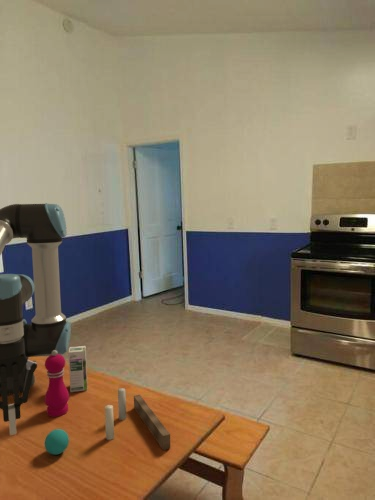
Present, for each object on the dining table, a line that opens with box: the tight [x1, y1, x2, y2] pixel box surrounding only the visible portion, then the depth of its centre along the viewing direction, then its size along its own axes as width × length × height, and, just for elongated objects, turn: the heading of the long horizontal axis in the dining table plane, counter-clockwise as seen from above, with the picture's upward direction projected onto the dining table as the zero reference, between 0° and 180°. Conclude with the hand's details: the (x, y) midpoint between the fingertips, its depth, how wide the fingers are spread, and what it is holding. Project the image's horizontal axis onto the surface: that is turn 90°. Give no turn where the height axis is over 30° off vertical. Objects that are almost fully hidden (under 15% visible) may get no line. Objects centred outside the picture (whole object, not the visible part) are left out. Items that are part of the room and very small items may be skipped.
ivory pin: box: [104, 404, 115, 441], centre depth 107 cm, size 2×2×9 cm
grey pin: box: [117, 387, 127, 421], centre depth 117 cm, size 2×2×9 cm
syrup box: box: [68, 345, 88, 393], centre depth 136 cm, size 6×6×14 cm
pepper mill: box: [44, 350, 70, 418], centre depth 120 cm, size 7×7×20 cm
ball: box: [44, 428, 70, 456], centre depth 101 cm, size 6×6×6 cm
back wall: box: [133, 394, 171, 451], centre depth 113 cm, size 24×2×4 cm, turn 26°
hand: (13, 431), depth 96 cm, fingers closed
